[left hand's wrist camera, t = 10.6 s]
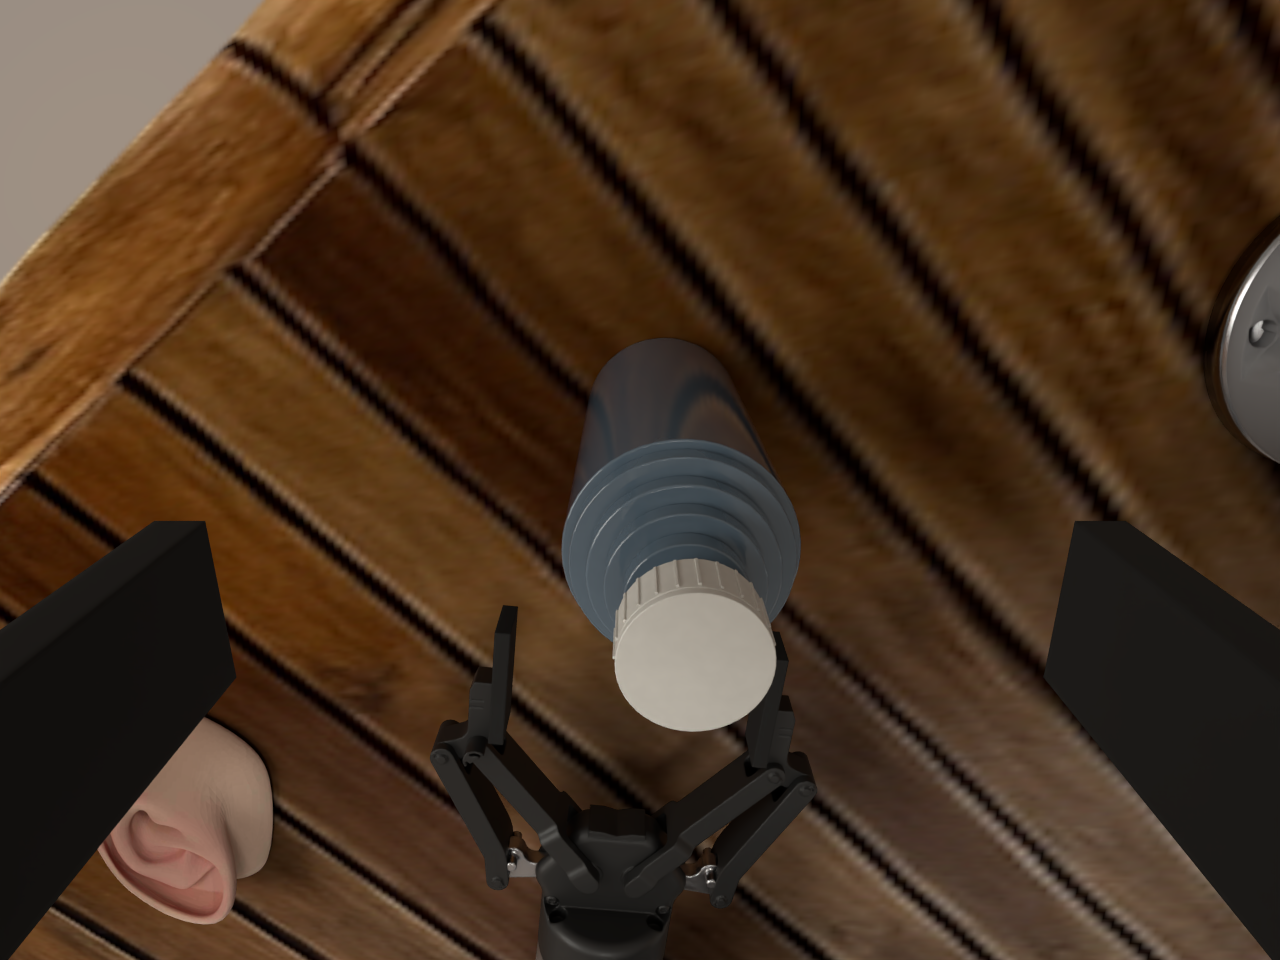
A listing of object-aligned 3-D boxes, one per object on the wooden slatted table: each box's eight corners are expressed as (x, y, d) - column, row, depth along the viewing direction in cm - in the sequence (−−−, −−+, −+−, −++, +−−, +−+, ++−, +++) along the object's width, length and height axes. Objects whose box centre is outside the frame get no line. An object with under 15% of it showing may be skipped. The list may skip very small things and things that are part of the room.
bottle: (571, 357, 42) (505, 553, 20) (722, 322, 42) (822, 485, 20) (608, 497, 45) (584, 803, 23) (750, 465, 44) (865, 749, 23)
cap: (597, 573, 22) (594, 610, 21) (752, 541, 22) (763, 575, 20) (633, 702, 24) (633, 746, 22) (778, 673, 24) (791, 716, 22)
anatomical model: (59, 726, 45) (269, 778, 46) (103, 684, 49) (296, 733, 50) (42, 900, 49) (234, 943, 51) (83, 849, 53) (261, 890, 55)
